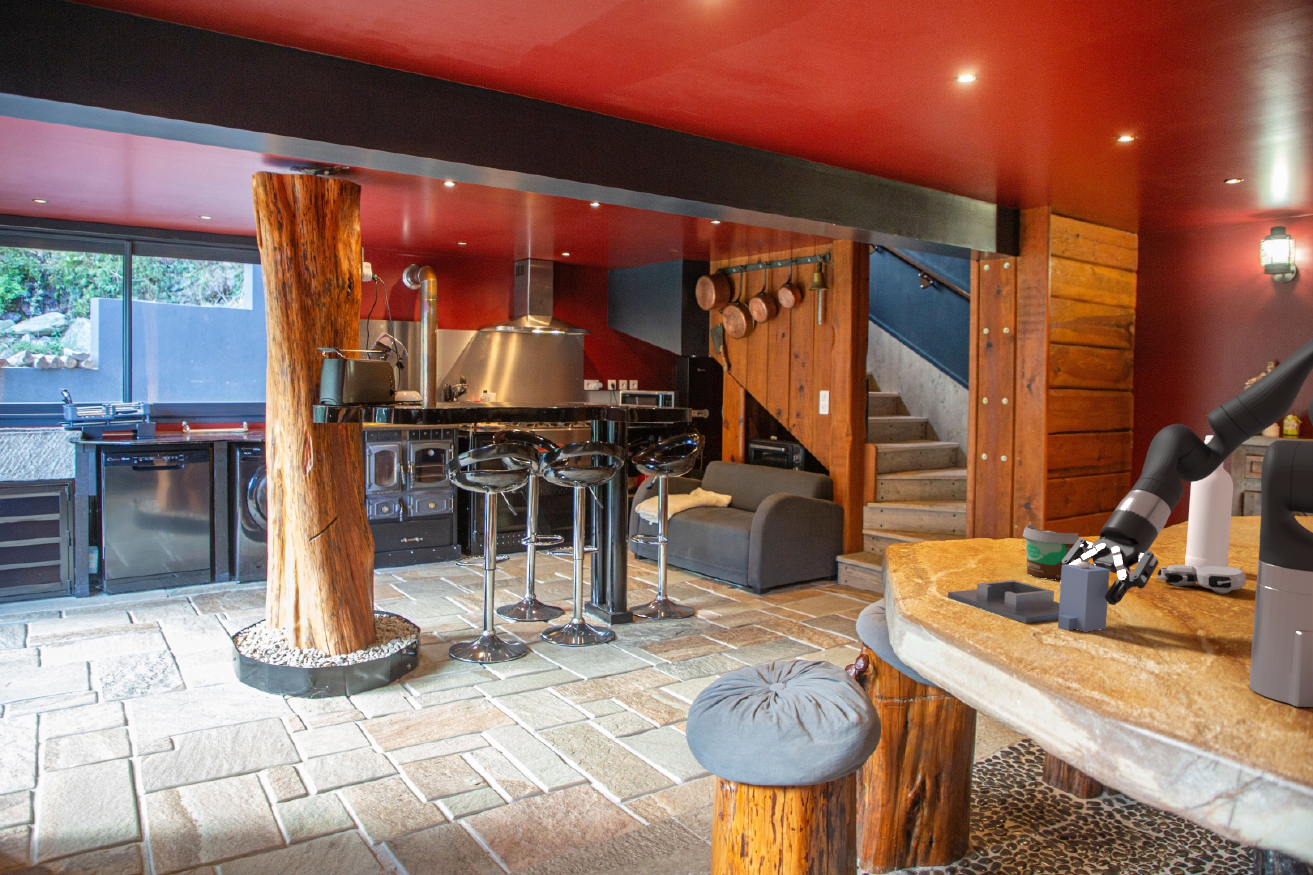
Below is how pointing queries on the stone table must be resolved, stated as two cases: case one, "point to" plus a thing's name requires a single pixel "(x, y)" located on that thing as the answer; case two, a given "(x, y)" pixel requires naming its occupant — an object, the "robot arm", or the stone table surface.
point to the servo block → (1083, 597)
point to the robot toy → (1204, 577)
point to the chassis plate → (1012, 600)
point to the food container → (1047, 551)
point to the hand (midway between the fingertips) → (1085, 595)
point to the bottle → (1210, 519)
